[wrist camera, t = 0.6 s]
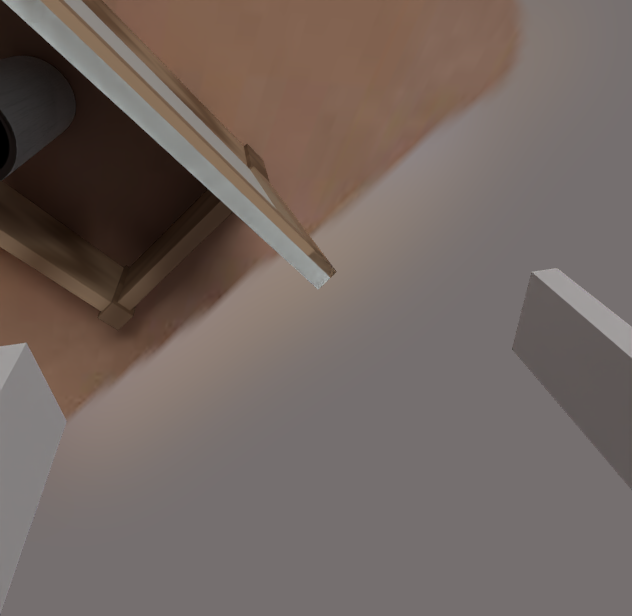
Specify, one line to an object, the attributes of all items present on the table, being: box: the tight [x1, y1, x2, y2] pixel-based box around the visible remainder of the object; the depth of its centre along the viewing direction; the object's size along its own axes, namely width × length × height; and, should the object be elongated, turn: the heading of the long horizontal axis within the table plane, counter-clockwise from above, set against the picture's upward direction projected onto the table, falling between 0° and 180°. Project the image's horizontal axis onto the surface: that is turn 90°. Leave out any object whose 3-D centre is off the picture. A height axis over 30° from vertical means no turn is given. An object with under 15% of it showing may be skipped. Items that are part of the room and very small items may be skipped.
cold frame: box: [0, 0, 270, 330], centre depth 26 cm, size 25×15×5 cm, turn 41°
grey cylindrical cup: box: [0, 56, 76, 181], centre depth 24 cm, size 4×4×10 cm
